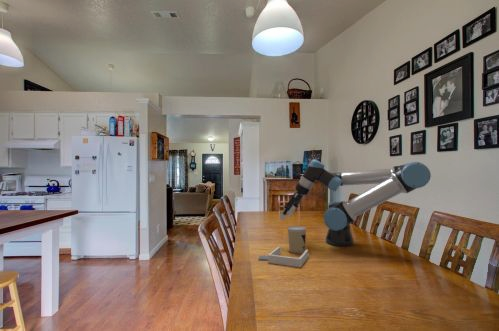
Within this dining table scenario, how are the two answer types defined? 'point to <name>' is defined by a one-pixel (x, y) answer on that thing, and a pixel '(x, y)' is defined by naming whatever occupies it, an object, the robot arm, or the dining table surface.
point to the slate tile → (263, 258)
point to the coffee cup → (297, 239)
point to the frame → (287, 258)
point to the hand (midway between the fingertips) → (285, 217)
